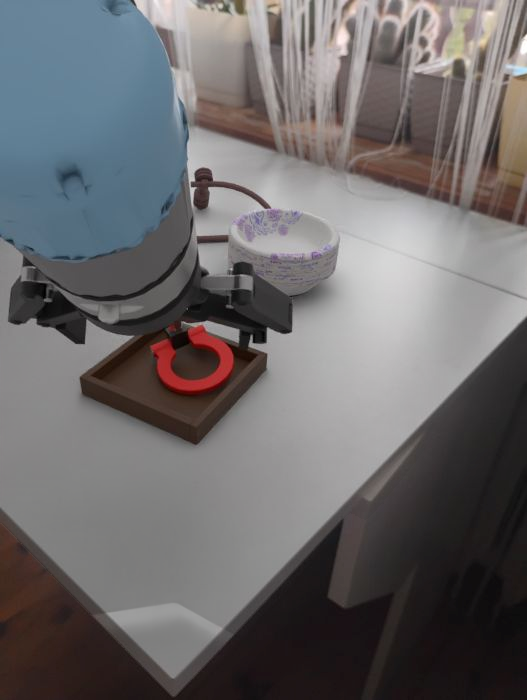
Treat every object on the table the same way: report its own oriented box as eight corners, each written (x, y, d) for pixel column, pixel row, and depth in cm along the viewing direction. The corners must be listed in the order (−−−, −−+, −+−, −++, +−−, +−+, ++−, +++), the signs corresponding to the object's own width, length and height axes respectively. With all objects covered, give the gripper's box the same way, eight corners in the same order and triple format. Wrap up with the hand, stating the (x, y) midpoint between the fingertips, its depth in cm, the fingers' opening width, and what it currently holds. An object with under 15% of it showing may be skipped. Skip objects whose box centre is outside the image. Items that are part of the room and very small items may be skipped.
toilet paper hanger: (146, 237, 95) (140, 165, 100) (147, 266, 102) (141, 197, 108) (285, 233, 99) (272, 163, 105) (275, 261, 107) (264, 195, 112)
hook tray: (81, 393, 67) (79, 376, 65) (162, 330, 77) (162, 314, 76) (196, 444, 62) (196, 427, 60) (266, 369, 72) (267, 353, 71)
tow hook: (248, 376, 68) (208, 327, 74) (241, 285, 59) (196, 237, 65) (178, 409, 65) (143, 356, 71) (159, 318, 56) (120, 265, 62)
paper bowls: (285, 321, 81) (291, 266, 76) (204, 278, 89) (205, 226, 84) (354, 282, 90) (362, 232, 86) (275, 247, 98) (279, 198, 94)
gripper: (-138, 314, 31) (8, 370, 52) (365, 332, 32) (309, 380, 53) (-119, 170, 32) (16, 282, 53) (365, 194, 33) (310, 294, 54)
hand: (163, 331), depth 53 cm, fingers open, 13 cm apart
